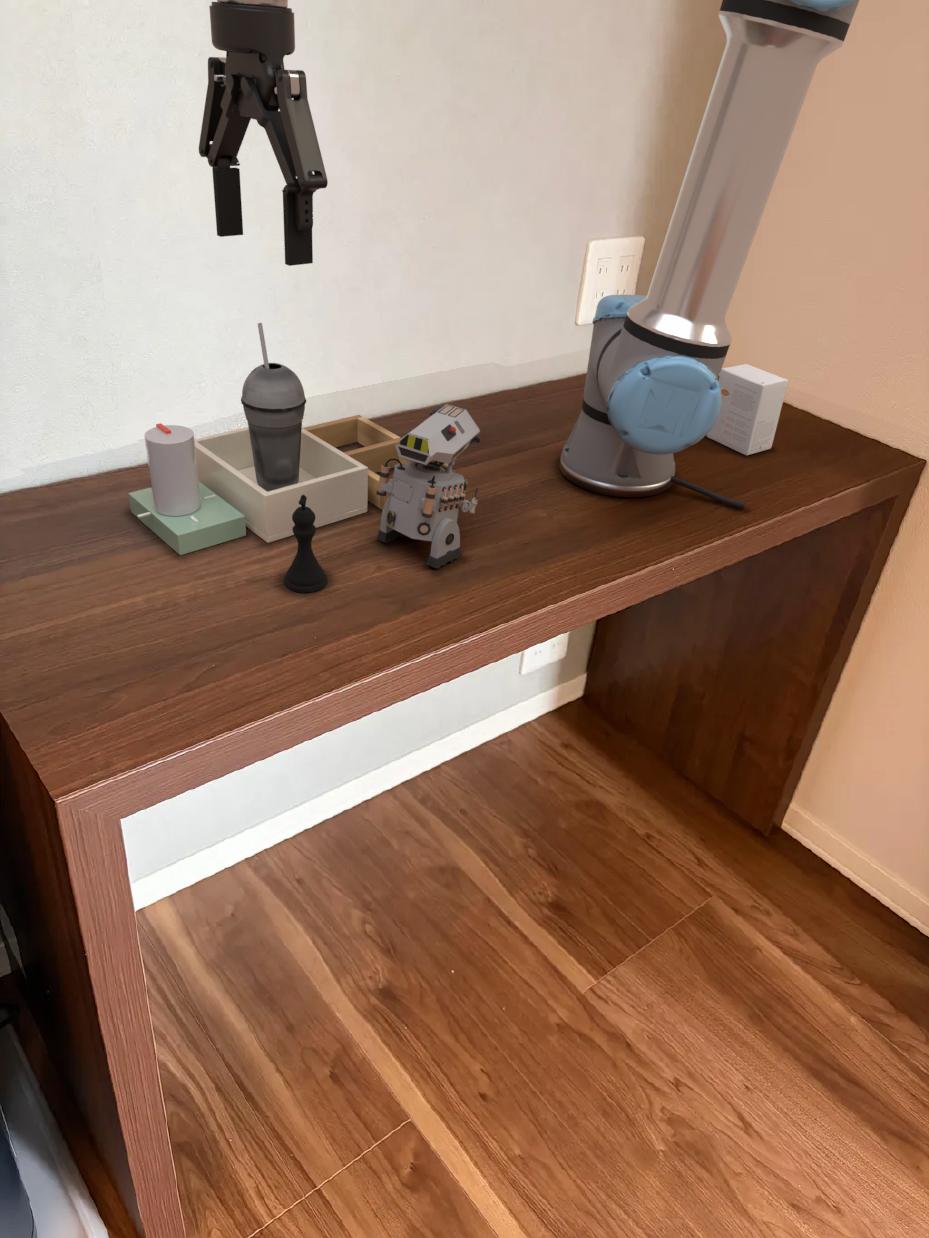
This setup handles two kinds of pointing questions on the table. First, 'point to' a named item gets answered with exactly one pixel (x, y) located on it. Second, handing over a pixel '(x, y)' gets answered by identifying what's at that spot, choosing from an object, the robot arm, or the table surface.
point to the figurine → (429, 484)
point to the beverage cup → (274, 421)
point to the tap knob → (173, 469)
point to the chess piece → (304, 554)
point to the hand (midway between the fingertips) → (263, 249)
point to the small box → (748, 408)
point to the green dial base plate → (191, 521)
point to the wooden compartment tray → (372, 455)
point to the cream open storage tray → (322, 479)
